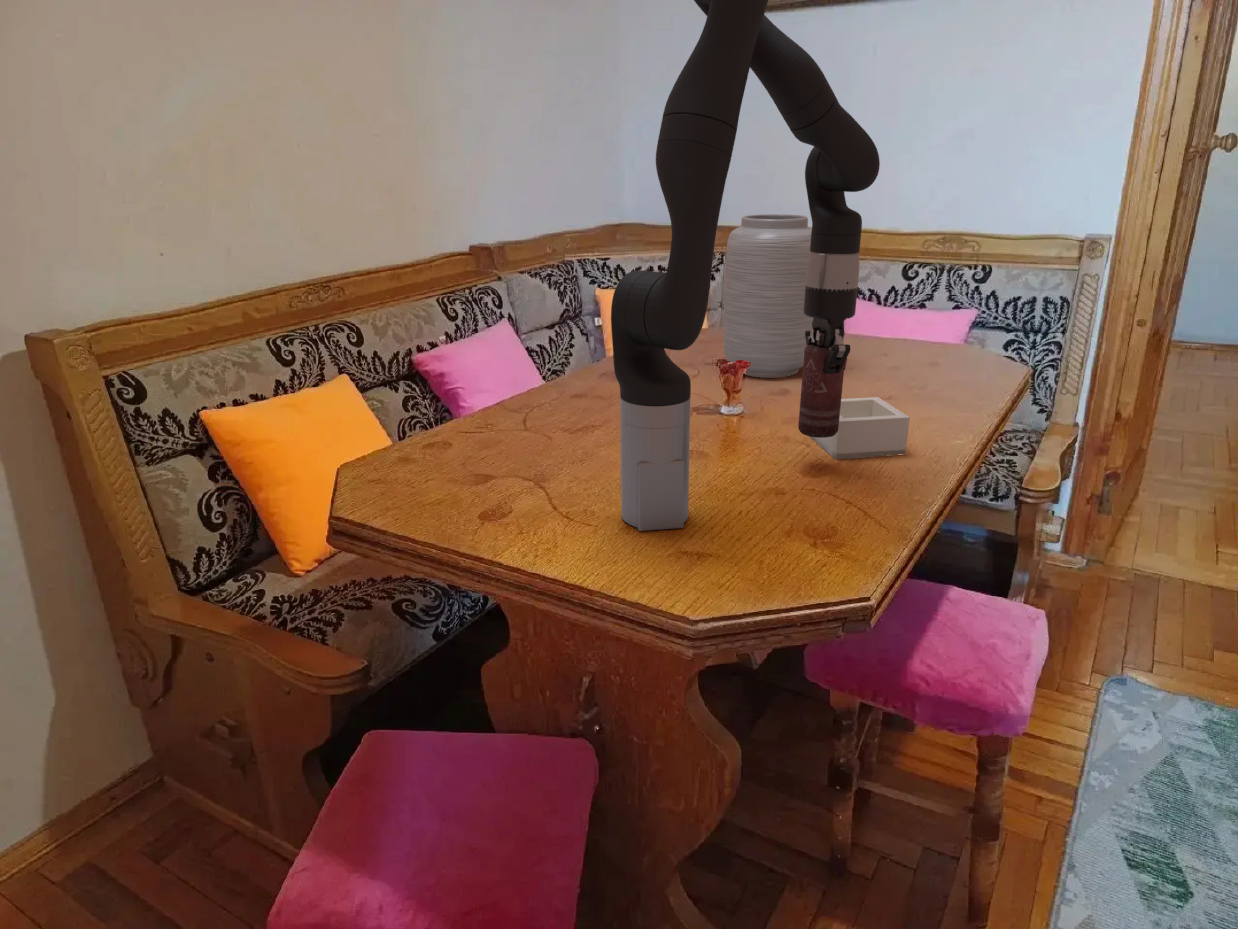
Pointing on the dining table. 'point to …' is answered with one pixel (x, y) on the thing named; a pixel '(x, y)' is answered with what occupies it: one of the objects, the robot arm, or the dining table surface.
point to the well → (867, 430)
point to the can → (819, 395)
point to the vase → (767, 294)
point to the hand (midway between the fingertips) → (821, 397)
